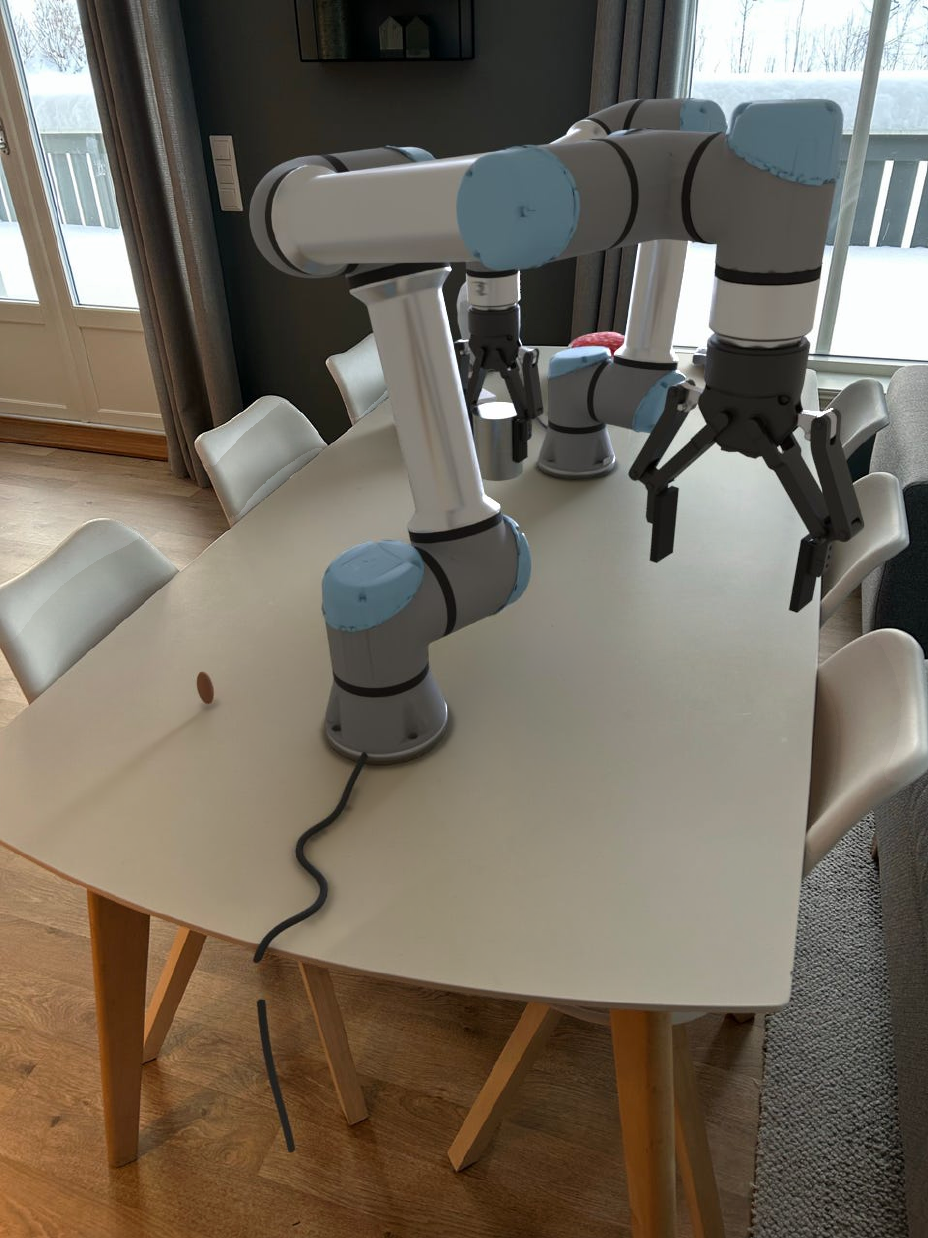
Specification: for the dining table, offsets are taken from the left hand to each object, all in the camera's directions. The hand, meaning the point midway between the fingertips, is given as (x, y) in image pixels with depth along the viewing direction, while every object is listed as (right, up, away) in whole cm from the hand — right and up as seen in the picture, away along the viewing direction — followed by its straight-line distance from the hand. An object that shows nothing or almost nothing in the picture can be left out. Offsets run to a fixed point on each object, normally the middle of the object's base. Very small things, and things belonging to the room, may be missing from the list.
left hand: (727, 580), depth 80 cm
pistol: (+43, +58, +150) cm, 167 cm away
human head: (-16, +65, +166) cm, 179 cm away
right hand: (-18, +22, +61) cm, 68 cm away
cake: (+13, +61, +157) cm, 169 cm away
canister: (-18, +20, +63) cm, 68 cm away
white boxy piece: (-27, +41, +127) cm, 136 cm away
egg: (-57, -15, +39) cm, 71 cm away
